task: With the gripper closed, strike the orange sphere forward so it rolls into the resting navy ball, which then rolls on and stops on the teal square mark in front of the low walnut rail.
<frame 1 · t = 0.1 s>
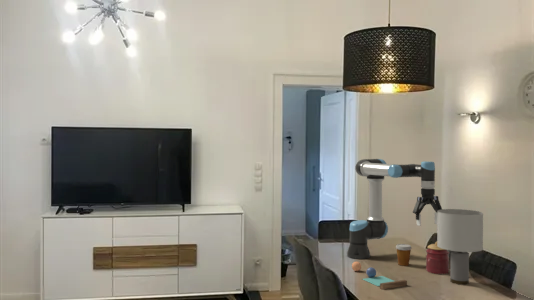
hand: (427, 224, 265), 28 cm above the table, tool pointing down, fingers open, 13 cm apart
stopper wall: (393, 286, 239), on the table
canister: (437, 271, 268), on the table
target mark: (380, 281, 249), on the table
lamp: (459, 282, 247), on the table
disposable coffee cup: (403, 265, 283), on the table
orange sphere: (356, 266, 269), on the table
object ball: (371, 272, 256), on the table
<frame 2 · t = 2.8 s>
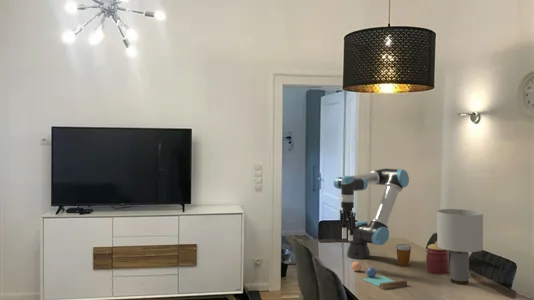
hand: (347, 239, 277), 17 cm above the table, tool pointing down, fingers open, 6 cm apart
nothing on the table moved.
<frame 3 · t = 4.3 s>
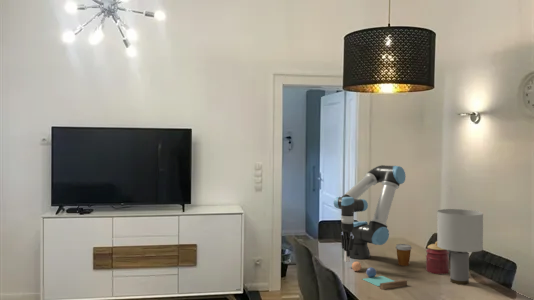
hand: (346, 261, 277), 4 cm above the table, tool pointing down, fingers closed
nothing on the table moved.
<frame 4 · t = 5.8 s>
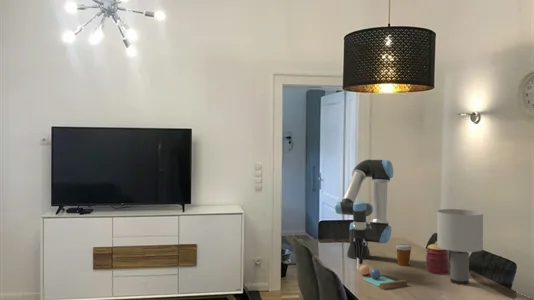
hand: (359, 269, 266), 2 cm above the table, tool pointing down, fingers closed
orange sphere: (364, 270, 261), on the table
object ball: (375, 274, 253), on the table
everything else where it was.
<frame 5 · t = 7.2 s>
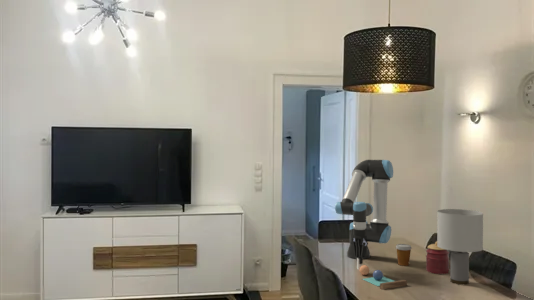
hand: (359, 269, 266), 2 cm above the table, tool pointing down, fingers closed
object ball: (377, 275, 251), on the table
everything else where it was.
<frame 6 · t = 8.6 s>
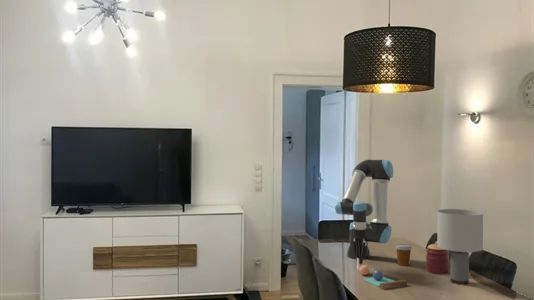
hand: (359, 269, 266), 2 cm above the table, tool pointing down, fingers closed
nothing on the table moved.
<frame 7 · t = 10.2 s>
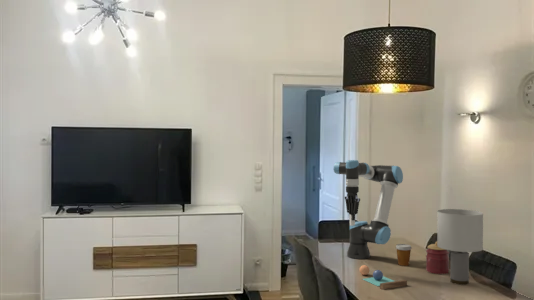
hand: (352, 225, 273), 26 cm above the table, tool pointing down, fingers closed
nothing on the table moved.
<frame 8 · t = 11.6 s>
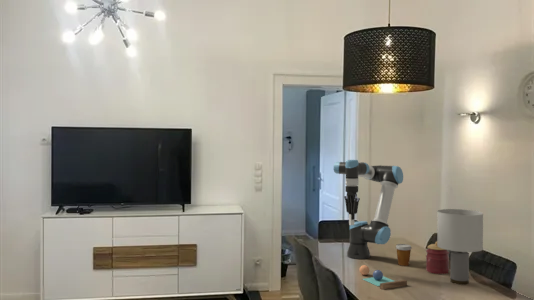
hand: (351, 224, 273), 26 cm above the table, tool pointing down, fingers closed
nothing on the table moved.
at the end: object ball 2.1 cm from the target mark (horizontally); object ball never touched the robot; orange sphere first touched object ball at 5.3 s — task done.
